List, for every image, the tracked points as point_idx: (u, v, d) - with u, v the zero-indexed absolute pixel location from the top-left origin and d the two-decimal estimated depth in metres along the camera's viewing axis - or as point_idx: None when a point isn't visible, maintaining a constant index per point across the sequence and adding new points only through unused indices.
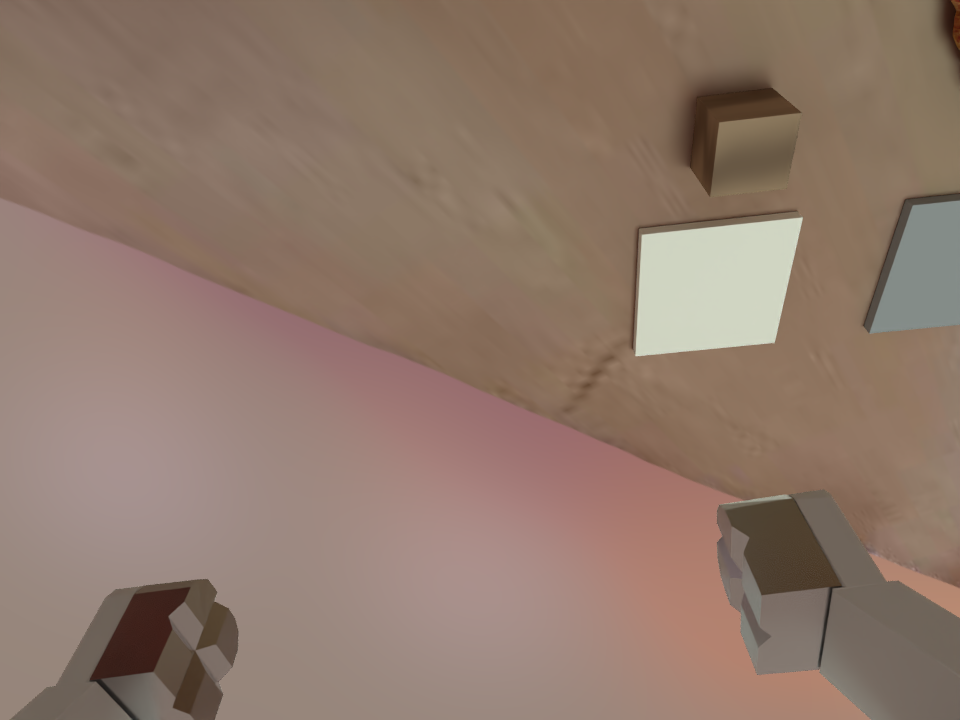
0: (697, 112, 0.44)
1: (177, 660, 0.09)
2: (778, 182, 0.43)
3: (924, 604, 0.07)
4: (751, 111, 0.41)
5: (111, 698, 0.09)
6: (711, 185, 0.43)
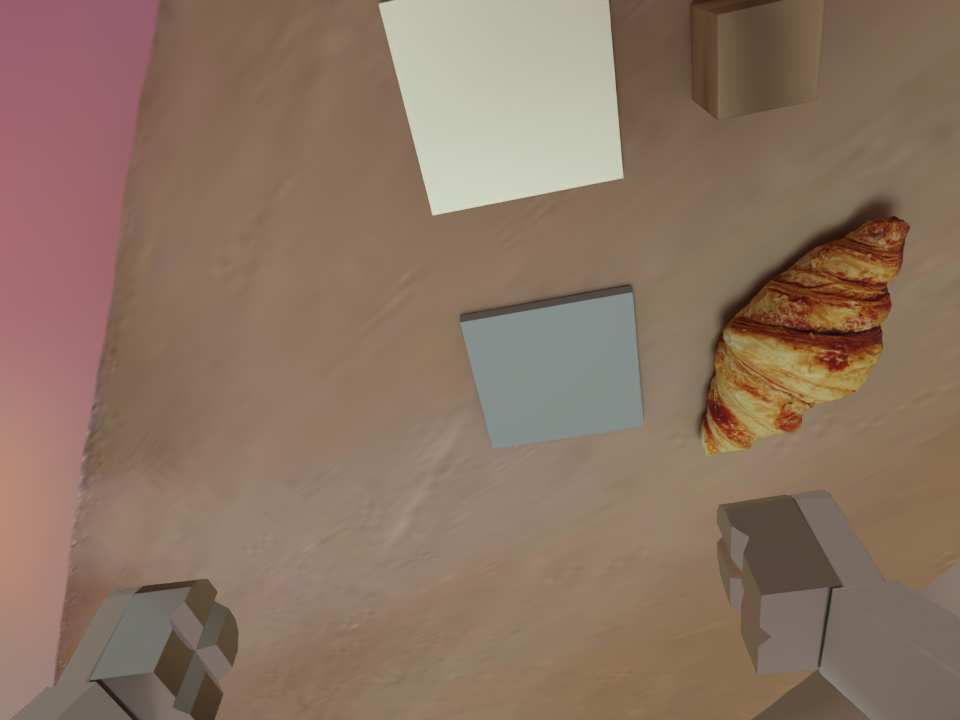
0: None
1: (177, 660, 0.09)
2: (727, 106, 0.34)
3: (924, 604, 0.07)
4: None
5: (111, 698, 0.09)
6: (734, 11, 0.31)
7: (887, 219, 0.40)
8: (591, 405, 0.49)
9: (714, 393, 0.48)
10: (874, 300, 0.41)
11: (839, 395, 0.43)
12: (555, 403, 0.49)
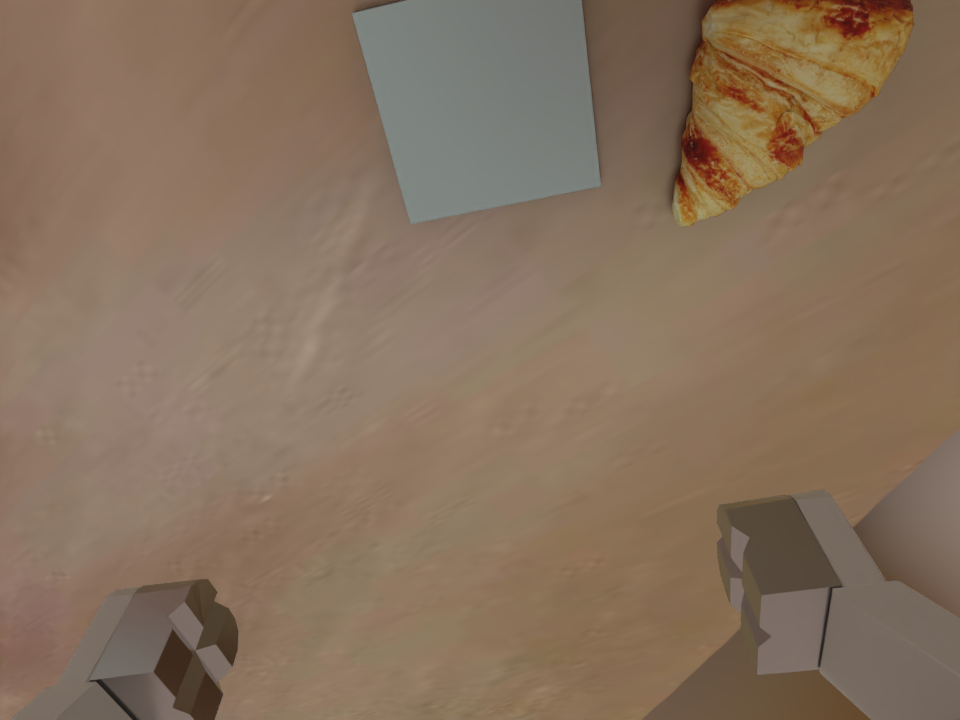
0: None
1: (177, 660, 0.09)
2: None
3: (924, 604, 0.07)
4: None
5: (111, 698, 0.09)
6: None
7: None
8: (532, 151, 0.38)
9: (690, 126, 0.37)
10: None
11: (854, 92, 0.32)
12: (486, 149, 0.38)
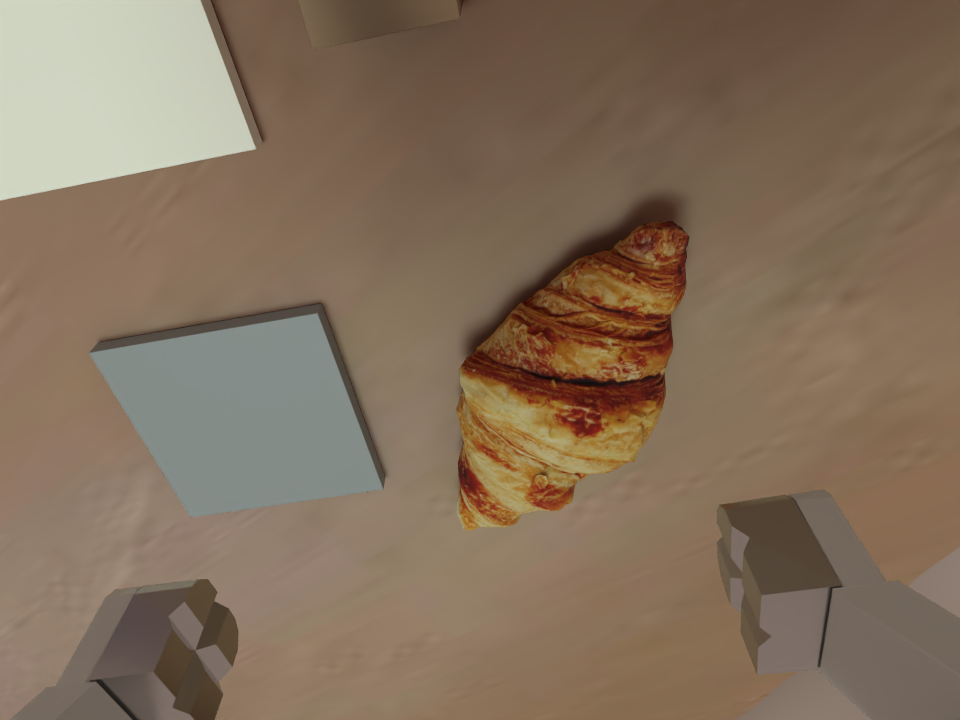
0: None
1: (177, 660, 0.09)
2: (321, 27, 0.21)
3: (924, 604, 0.07)
4: None
5: (111, 698, 0.09)
6: None
7: (658, 224, 0.28)
8: (305, 462, 0.37)
9: (463, 450, 0.35)
10: (642, 339, 0.29)
11: (603, 467, 0.31)
12: (256, 460, 0.37)
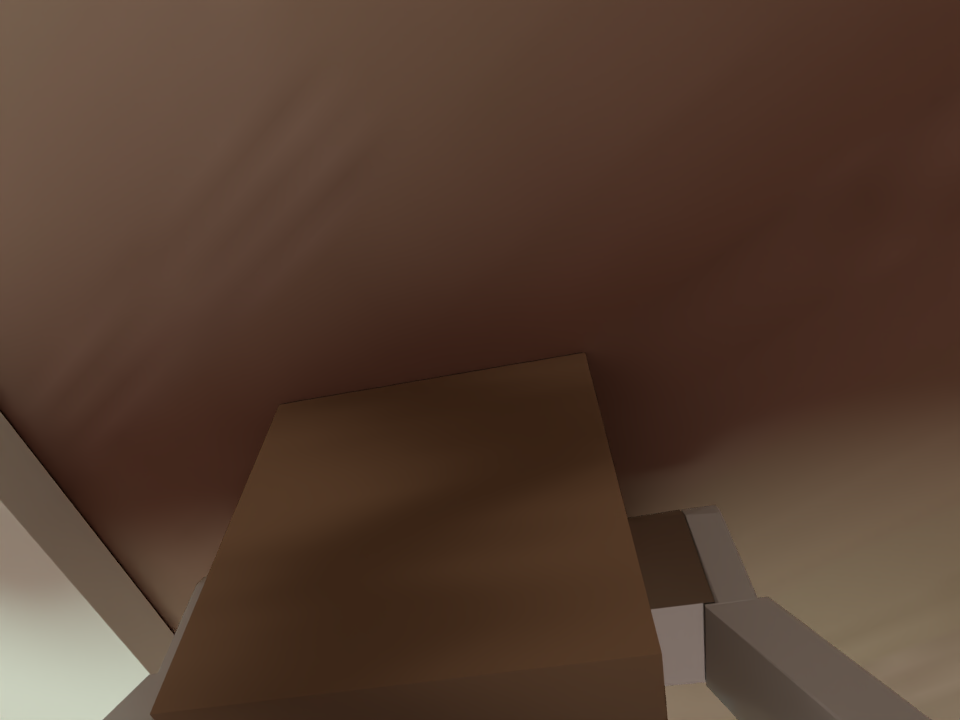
0: (529, 380, 0.10)
1: None
2: None
3: (787, 620, 0.07)
4: None
5: None
6: (229, 698, 0.06)
7: None
8: None
9: None
10: None
11: None
12: None
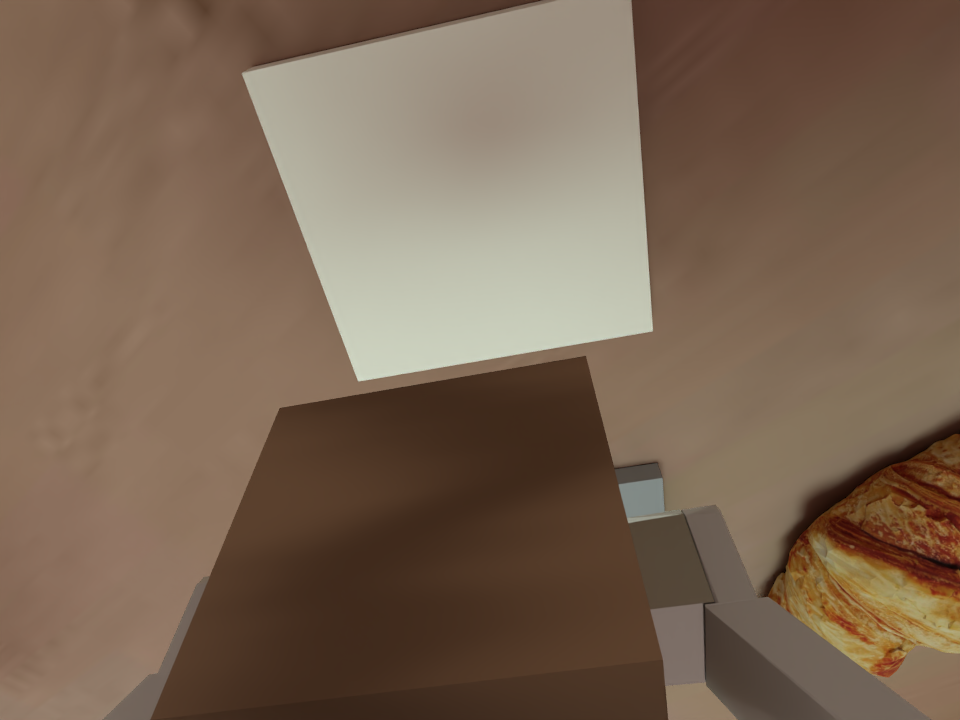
0: (529, 384, 0.10)
1: None
2: None
3: (787, 620, 0.07)
4: None
5: None
6: (230, 704, 0.06)
7: None
8: None
9: (781, 604, 0.34)
10: None
11: None
12: None
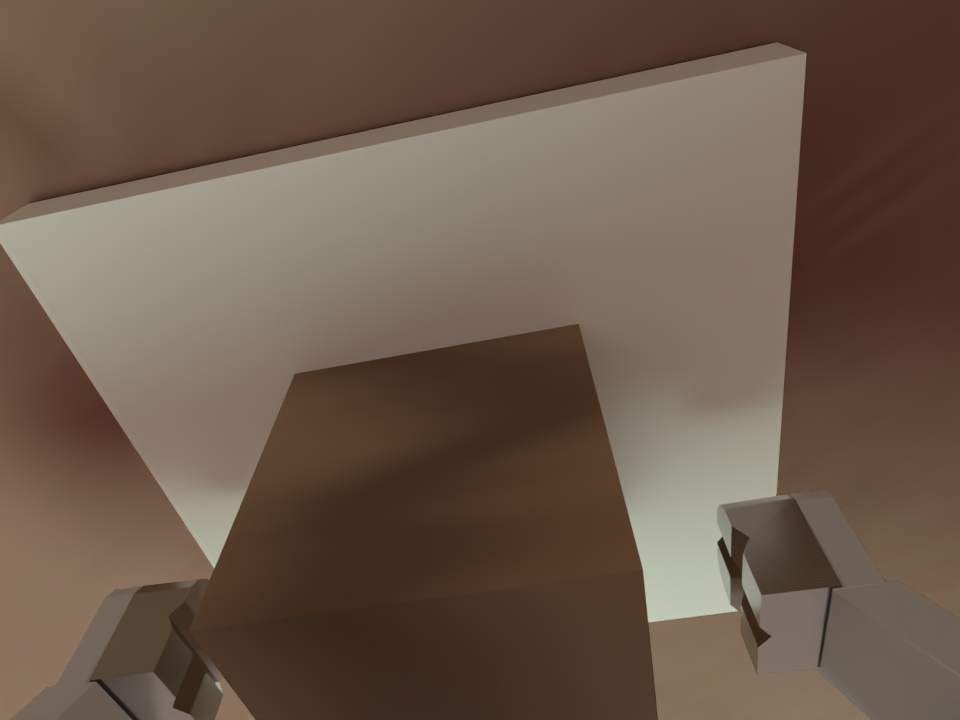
0: (527, 348, 0.10)
1: (177, 660, 0.09)
2: None
3: (924, 604, 0.07)
4: None
5: (111, 698, 0.09)
6: (259, 617, 0.07)
7: None
8: None
9: None
10: None
11: None
12: None
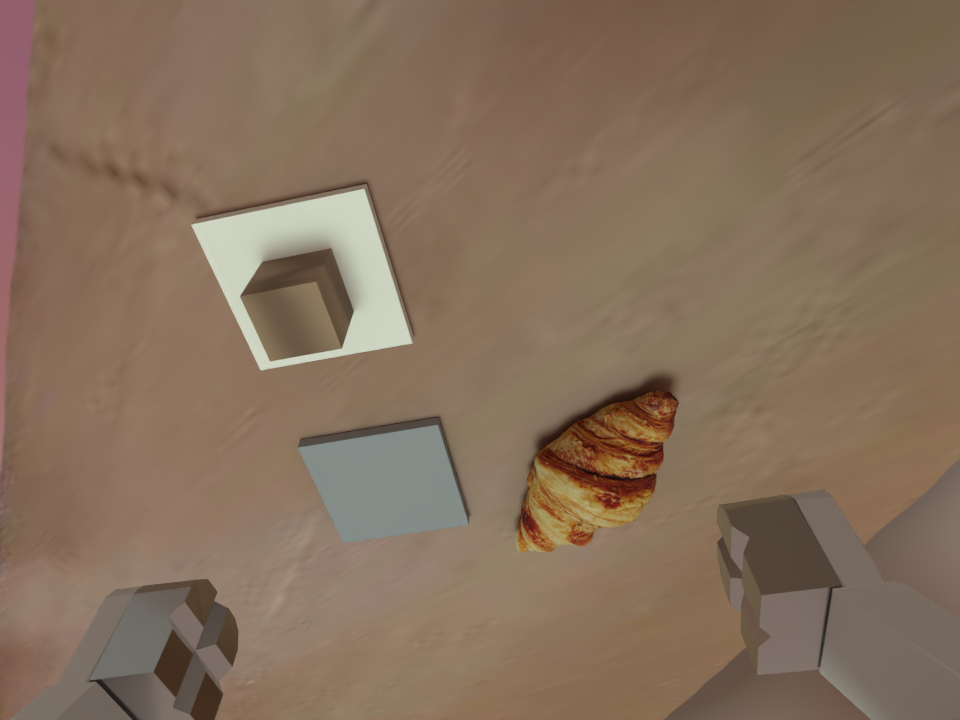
0: (317, 253, 0.44)
1: (177, 660, 0.09)
2: (273, 352, 0.43)
3: (924, 604, 0.07)
4: (332, 304, 0.42)
5: (111, 698, 0.09)
6: (252, 293, 0.40)
7: (662, 395, 0.49)
8: (420, 508, 0.58)
9: (526, 504, 0.56)
10: (647, 456, 0.50)
11: (616, 524, 0.53)
12: (390, 507, 0.58)
